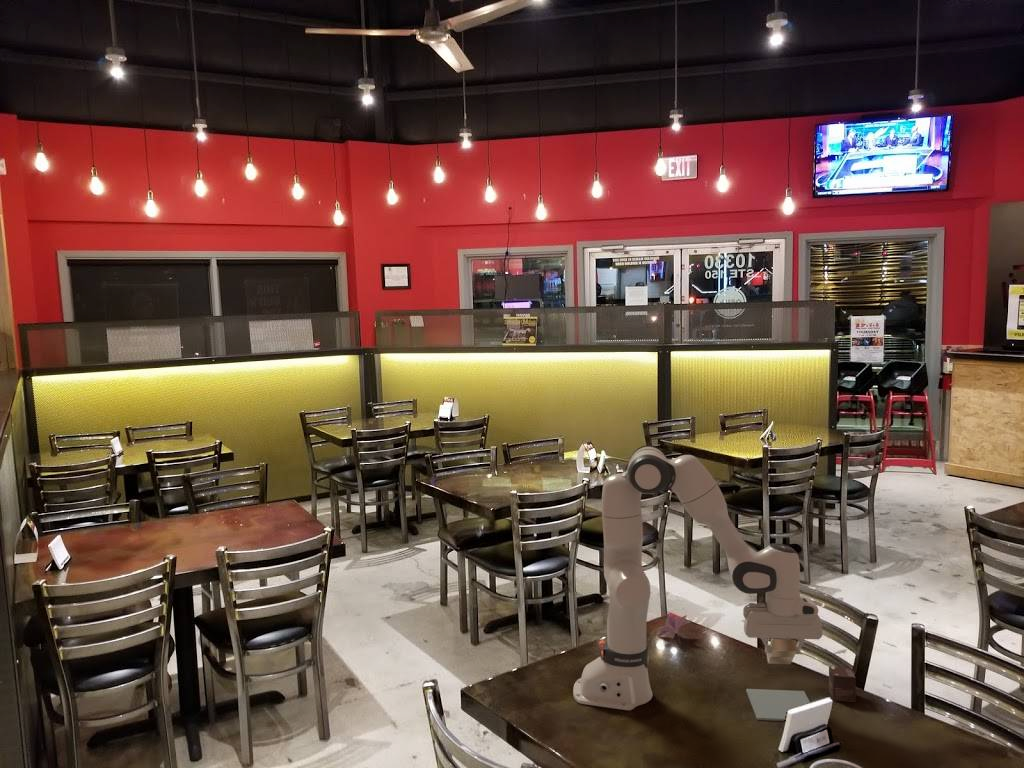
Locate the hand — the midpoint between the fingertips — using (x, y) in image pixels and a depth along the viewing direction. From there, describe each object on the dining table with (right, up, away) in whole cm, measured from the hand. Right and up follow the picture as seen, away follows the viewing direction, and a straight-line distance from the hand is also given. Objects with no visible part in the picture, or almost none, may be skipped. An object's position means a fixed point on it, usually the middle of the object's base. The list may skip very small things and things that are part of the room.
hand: (782, 652), depth 205 cm
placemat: (0, -15, +1) cm, 15 cm away
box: (+19, -15, +6) cm, 25 cm away
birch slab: (+1, -3, +5) cm, 6 cm away
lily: (-20, -12, +46) cm, 51 cm away
